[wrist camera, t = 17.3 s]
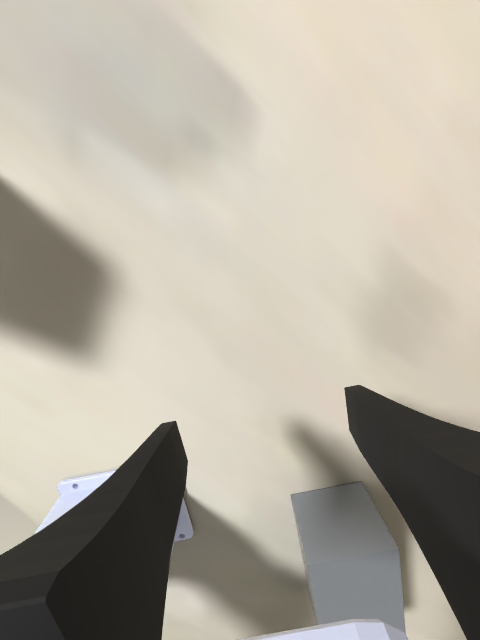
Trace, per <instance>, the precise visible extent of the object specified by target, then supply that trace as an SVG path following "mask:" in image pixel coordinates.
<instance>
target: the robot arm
mask: <svg viewBox="0 0 480 640" xmlns="http://www.w3.org/2000/svg"><path fill="white" fill-rule="evenodd" d="M345 396H346V405H347V413H348V422H349V430H350V432H351V434H352V436H353V438H354V440H355V442H356V444H357V446H358V448H359V450H360V452H361V453H362V455H363V456H364V458H365V459H366V461H367V462H368V464H369V465H370V467H371V468H372V470H373V471H374V473H375V474H376V476H377V477H378V479H379V480H380V482H381V483H382V485H383V486H384V488H385V489H386V491H387V492H388V494H389V495H390V497H391V498H392V500H393V501H394V502H395V504H396V506H397V507H398V509H399V511H400V512H401V514H402V515H403V517H404V519H405V521H406V523H407V524H408V526H409V528H410V530H411V532H412V534H413V535H414V537H415V539H416V541H417V543H418V544H419V546H420V548H421V550H422V552H423V554H424V556H425V558H426V560H427V561H428V563H429V565H430V567H431V569H432V571H433V573H434V575H435V577H436V579H437V581H438V582H439V584H440V586H441V588H442V590H443V592H444V594H445V596H446V598H447V600H448V602H449V604H450V606H451V608H452V610H453V612H454V614H455V616H456V618H457V620H458V622H459V624H460V626H461V628H462V630H463V632H464V634H465V636H466V638H467V640H480V432H477V431H473V430H470V429H466V428H463V427H459V426H456V425H453V424H450V423H447V422H444V421H441V420H438V419H435V418H433V417H430V416H427V415H425V414H422V413H420V412H418V411H415V410H413V409H410V408H408V407H406V406H403V405H401V404H399V403H397V402H395V401H392V400H390V399H388V398H386V397H384V396H382V395H380V394H378V393H376V392H374V391H372V390H370V389H367V388H365V387H363V386H361V385H356V386H351V387H346V388H345ZM187 464H188V460H187V457H186V453H185V450H184V446H183V443H182V440H181V436H180V433H179V430H178V426H177V423H176V421H172V422H167V423H162V424H161V425H160V426H159V427H158V428H157V429H156V430H155V431H154V432H153V433H152V434H151V435H150V436H149V437H148V438H147V439H146V441H145V442H144V443H143V444H142V445H141V446H140V447H139V448H138V449H137V450H136V451H135V452H134V453H133V454H132V455H131V457H130V458H129V459H128V460H126V461H125V462H124V463H123V464H122V465H121V466H120V467H119V468H118V469H117V470H114V471H109V472H104V473H99V474H94V475H88V476H83V477H78V478H73V479H68V480H63V481H61V482H60V483H59V485H58V487H57V488H58V491H59V493H60V497H59V498H58V500H57V501H56V503H55V504H54V506H53V507H52V508H51V510H50V511H49V513H48V514H47V516H46V517H45V519H44V520H43V522H42V523H41V524H40V526H39V527H38V529H37V530H36V532H35V533H34V535H33V536H31V537H30V538H28V539H26V540H25V541H23V542H22V543H20V544H19V545H17V546H15V547H14V548H12V549H10V550H9V551H7V552H5V553H3V554H2V555H0V640H161V638H162V627H163V618H164V608H165V599H166V590H167V582H168V574H169V567H170V562H171V557H172V552H173V547H174V542H176V541H181V540H187V539H190V538H192V537H193V534H194V530H193V526H192V523H191V520H190V517H189V514H188V511H187V507H186V504H185V501H184V498H183V496H184V491H185V486H186V477H187ZM76 484H78V485H76ZM237 640H408V638H407V636H406V634H405V633H404V632H402V631H401V630H399V629H397V628H395V627H393V626H391V625H389V624H387V623H385V622H382V621H380V620H378V619H350V620H344V621H339V622H333V623H327V624H322V625H316V626H310V627H305V628H299V629H294V630H288V631H282V632H277V633H271V634H265V635H260V636H254V637H249V638H243V639H237Z"/></svg>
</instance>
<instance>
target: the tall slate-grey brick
mask: <svg viewBox="0 0 480 640" xmlns="http://www.w3.org/2000/svg"><path fill="white" fill-rule="evenodd" d="M291 500H292V505H293V510H294V515H295V520H296V526H297V531H298V536H299V541H300V546H301V552H302V557H303V562H304V567H305V572H306V577H307V583H308V588H309V593H310V597H311V601H312V606H313V610H314V615H315V619H316V624H317V625H322V624H327V623H333V622H339V621H344V620H350V619H378V620H380V621H382V622H385V623H387V624H389V625H391V626H393V627H395V628H397V629H399V630H401V631H402V632H404V633H405V634H406V632H405V619H404V605H403V592H402V579H401V565H400V552H399V548H398V546H397V544H396V542H395V540H394V539H393V537H392V535H391V533H390V531H389V530H388V528H387V526H386V524H385V522H384V521H383V519H382V517H381V515H380V513H379V512H378V510H377V508H376V506H375V504H374V503H373V501H372V499H371V497H370V495H369V494H368V492H367V490H366V488H365V486H364V484H363V483H362V481H361V482H356V483H351V484H345V485H340V486H335V487H329V488H324V489H319V490H313V491H308V492H303V493H297V494H292V495H291Z"/></svg>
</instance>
